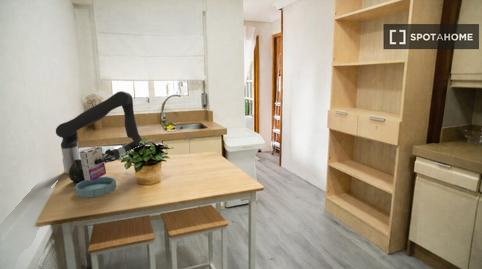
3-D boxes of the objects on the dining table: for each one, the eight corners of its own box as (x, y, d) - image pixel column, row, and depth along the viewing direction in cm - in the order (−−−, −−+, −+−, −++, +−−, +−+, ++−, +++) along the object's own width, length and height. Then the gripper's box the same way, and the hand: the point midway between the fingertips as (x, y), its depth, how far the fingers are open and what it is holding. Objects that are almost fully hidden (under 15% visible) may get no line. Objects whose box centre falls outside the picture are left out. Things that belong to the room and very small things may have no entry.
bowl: (68, 194, 160) (66, 187, 159) (98, 181, 178) (98, 174, 177) (93, 200, 152) (92, 192, 151) (123, 185, 169) (122, 179, 169)
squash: (104, 167, 185) (85, 151, 182) (94, 177, 171) (73, 159, 167) (90, 182, 187) (71, 166, 184) (78, 192, 173) (57, 175, 170)
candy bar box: (99, 173, 169) (95, 145, 165) (106, 174, 167) (102, 146, 164) (83, 180, 159) (78, 151, 155) (91, 181, 157) (86, 152, 153)
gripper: (105, 146, 177) (80, 154, 162) (123, 148, 171) (99, 157, 156) (107, 158, 179) (83, 167, 164) (125, 160, 173) (101, 170, 158)
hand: (91, 162), depth 160 cm, fingers closed on candy bar box, 5 cm apart
